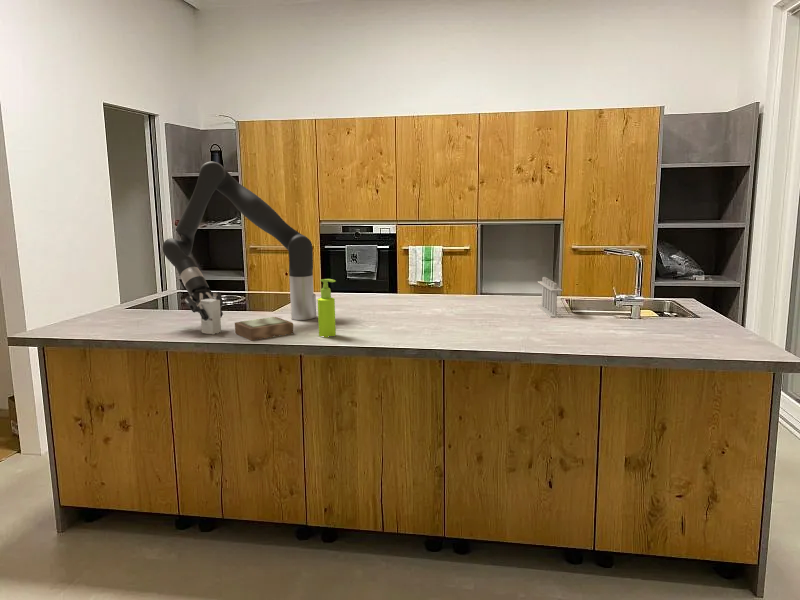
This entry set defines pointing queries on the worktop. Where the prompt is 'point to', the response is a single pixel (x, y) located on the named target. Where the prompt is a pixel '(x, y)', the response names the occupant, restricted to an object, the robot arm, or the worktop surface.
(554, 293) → the test tube rack
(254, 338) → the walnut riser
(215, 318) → the skincare box
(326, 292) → the soap dispenser
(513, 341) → the worktop surface
